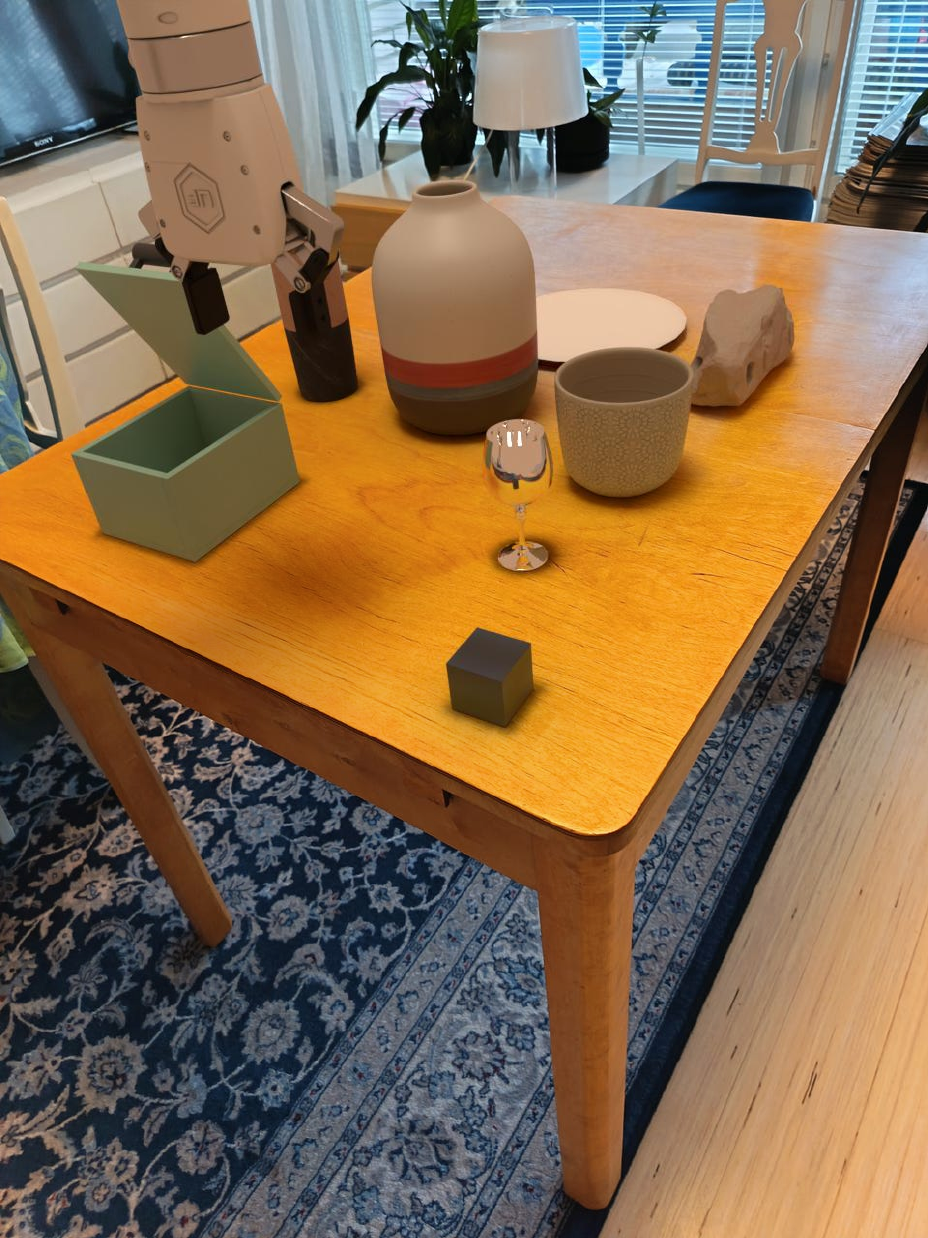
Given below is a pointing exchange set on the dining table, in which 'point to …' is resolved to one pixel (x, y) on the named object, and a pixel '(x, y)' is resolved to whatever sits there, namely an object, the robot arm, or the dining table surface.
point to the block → (490, 676)
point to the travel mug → (332, 360)
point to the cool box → (188, 470)
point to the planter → (623, 418)
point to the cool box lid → (176, 326)
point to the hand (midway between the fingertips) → (263, 334)
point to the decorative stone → (740, 344)
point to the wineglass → (518, 481)
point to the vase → (456, 312)
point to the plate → (603, 322)
